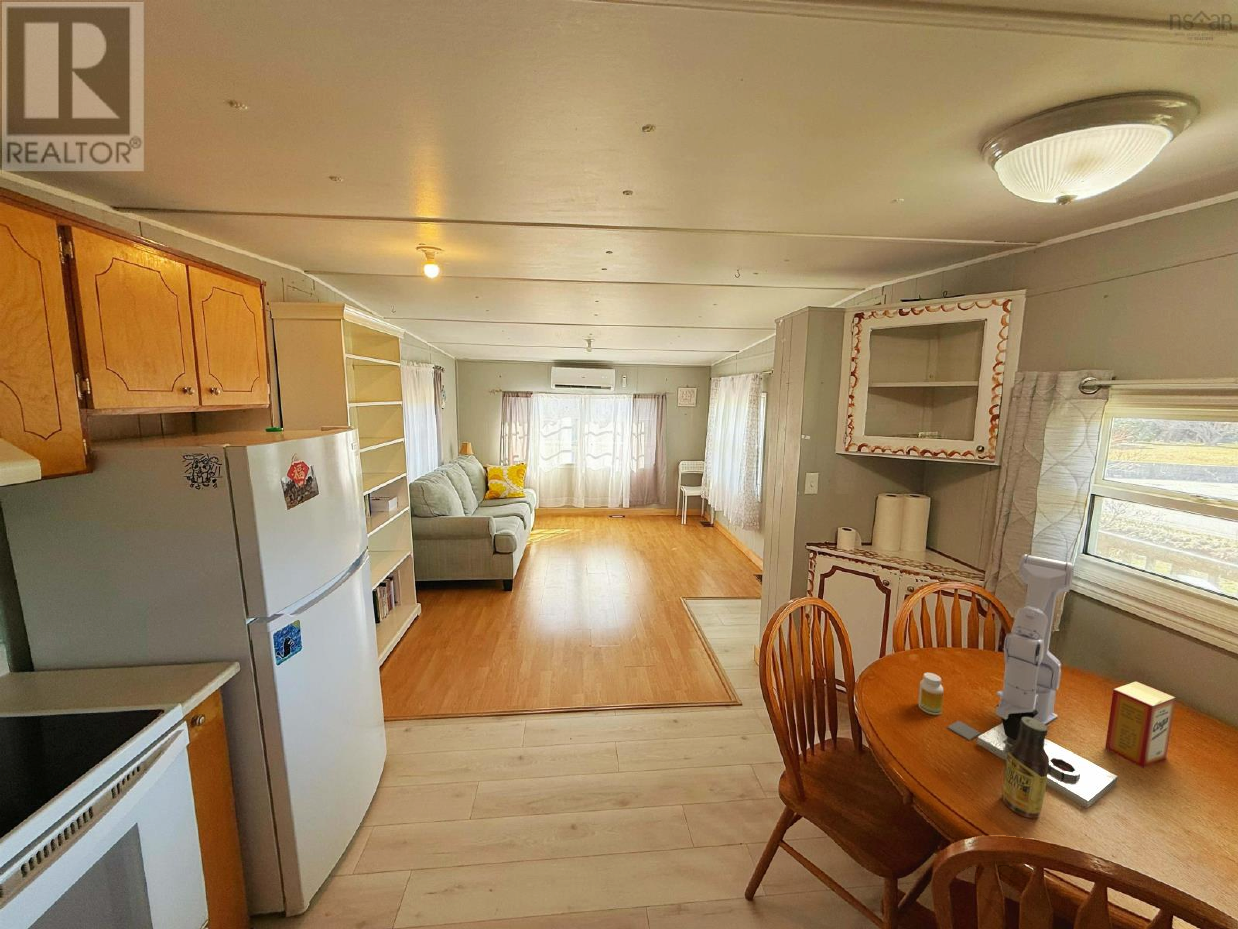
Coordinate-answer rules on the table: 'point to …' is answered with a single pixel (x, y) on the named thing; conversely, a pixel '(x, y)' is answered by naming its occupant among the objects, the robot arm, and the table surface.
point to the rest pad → (964, 730)
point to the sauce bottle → (1026, 770)
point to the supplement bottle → (931, 694)
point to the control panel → (1075, 783)
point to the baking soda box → (1140, 723)
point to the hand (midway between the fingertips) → (1014, 735)
